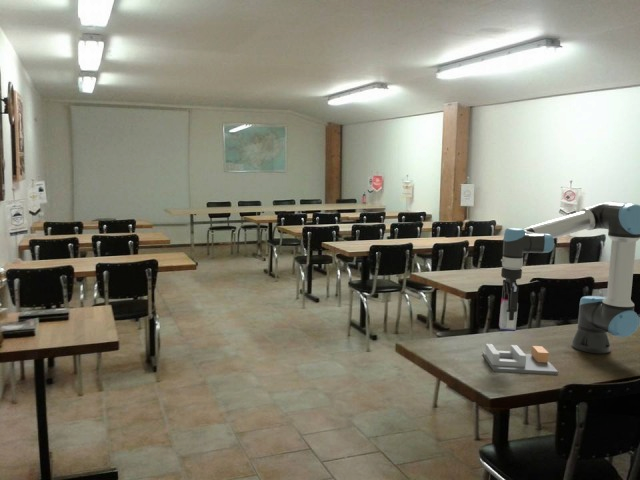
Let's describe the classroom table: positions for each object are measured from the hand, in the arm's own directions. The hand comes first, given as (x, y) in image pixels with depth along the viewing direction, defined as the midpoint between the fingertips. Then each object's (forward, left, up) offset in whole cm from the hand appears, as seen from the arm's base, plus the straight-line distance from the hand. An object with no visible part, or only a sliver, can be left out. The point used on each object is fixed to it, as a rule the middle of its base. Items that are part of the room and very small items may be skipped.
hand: (507, 325), depth 214 cm
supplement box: (0, 0, -2) cm, 2 cm away
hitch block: (-5, 0, -16) cm, 17 cm away
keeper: (-14, -3, -14) cm, 21 cm away
